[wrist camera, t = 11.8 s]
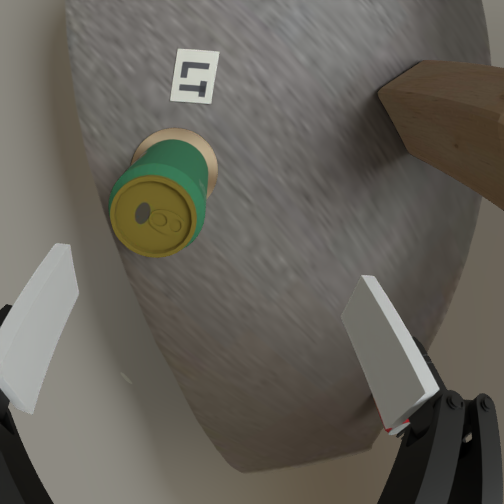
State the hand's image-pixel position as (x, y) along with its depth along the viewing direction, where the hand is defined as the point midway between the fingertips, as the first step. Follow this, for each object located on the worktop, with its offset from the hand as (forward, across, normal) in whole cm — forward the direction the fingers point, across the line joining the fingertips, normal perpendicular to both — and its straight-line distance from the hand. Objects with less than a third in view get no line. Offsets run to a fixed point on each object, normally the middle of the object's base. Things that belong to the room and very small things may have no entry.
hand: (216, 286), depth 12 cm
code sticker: (+23, -4, +8) cm, 25 cm away
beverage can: (+22, -5, -3) cm, 23 cm away
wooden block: (+23, +23, +12) cm, 35 cm away
